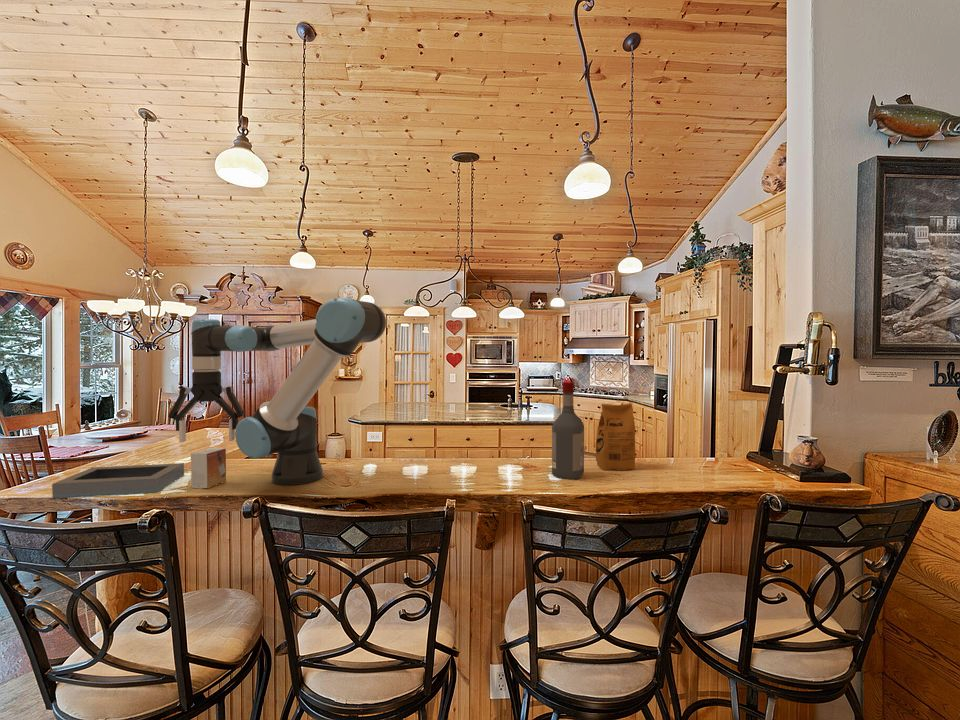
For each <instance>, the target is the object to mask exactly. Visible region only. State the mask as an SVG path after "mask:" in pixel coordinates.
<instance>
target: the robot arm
mask: <svg viewBox="0 0 960 720" xmlns="http://www.w3.org/2000/svg"><path fill="white" fill-rule="evenodd" d="M386 327H387V319H386V315H385V313H384V311H383V310H382V308H380V307H379V306H378V305H377V304H375V303H373V302H369V301H362V300H357V299H354V298H350V297H336V298H335V297H334V298H332V299H329V300H327V301H326V302H324V303H323V304H322V305H321V306H320V307H319V309H318V310H317V313H316V316H315V318H314V319H313V318H312V319H308V320H302V321H295V322H290V323H283V324H277V325H270V326H269V325H268V326H263V327H262V326H261V327H260V326H248V325H239V324H238V325H222V324H221V321H220V320H219V319H214V318H213V319H211V318H197V319H196V318H195V319H194V320H192V322H191V332H190V334H191V356H192V357H191V370H192V371H193V372H192V373H191V377H192V378H191V379H192V381H191V382H192V386H191V387H189V386H182V387H180V388H179V389H180V390H179V395H178V396H177V399H176V401H175V403H174V404H173V406H172V408H171V410H170V412H169V413H168V416H167V417H168V418H169V419H172V420H175V430H176V431H177V432H178V433H179V436H178V439H179V441H178V442H179V443H184V442H187V419H186V418H185V417H186V415H187V414H188V413H189V412H190V411H191V410H192V409H193V408H194V407H195V405H197V403H198V402H200V403H204V402H208V403H210V402H211V403H212V402H215V403H216V404H218V406H220V408H221V409H223V411H225V413H226V414H227V415H228V416H229V417H230V418H229V419H228V442H233V441H234V440H235V442H236V446H237V447H238V449H239V450H240V451H241V453H242V454H243V455H244V456H247V457H248V458H252V459H258V458H265V457H267V456H271V455H274V454H275V453H277V456H276V459H275V462H274V465H273V469H272V472H271V482H272V483H273V484H276V485H282V486H283V485H284V486H285V485H287V486H293V485H302V484H303V485H305V484H308V483H313V482H315V481H318V480H320V479H322V478H323V476H324V473H323V472H324V468H323V465H322V463H321V460H320V457H319V455H318V450H317V448H318V447H317V446H318V444H317V440H318V439H317V434H318V432H317V425H318V423H317V420H318V418H317V409H316V408H315V407H314V406H307V405H308V404H309V402H310V401H311V400H312V398H313V397H314V395H315V394H317V391H319V389H320V387H321V386H322V385H323V384H324V382H325V381H326V380H327V378H328V377H329V375H330V374H331V372H333V370H334V368H335V367H336V366H337V365H338V363H339V362H340V360H341V359H343V358H345V357H346V358H347V357H350V356H351V355H352V354H353V353H354V351H355V350H356V349H357V347H358V346H359V345H360V344H361V343H364V344H365V343H371V342H375V341H377V340H378V339H380V337H382V336H383V334H384V332H385V331H386ZM301 346H302V347H303V346H309V347H308V348H307V349H306V351H305V353H304V354H303V355H302V357H301V358H300V360H299V361H298V362H297V363H296V365H295V366H294V368H293V369H292V370H291V372H290V373H289V375H288V376H287V377H286V378H285V380H284V381H283V383H282V385H281V386H280V387H279V388H278V390H277V391H276V393H275V394H274V395H273V397H272V399H270V401H265V402H262V403H261V404H260V405H259V407H258V408H257V409H256V411H255V412H254V413H253V415H252V416H247V417H244V416H245V411H244V409H243V408H242V406H241V404H240V402H239V401H238V399H237V397H236V395H235V393H234V387H233V386H232V385H231V386H226V387H225V386H224V387H223V386H222V372H221V371H220V370H221V369H222V356H221V355H222V352H236V353H240V352H241V353H245V352H260V351H261V352H262V351H263V352H274V351H279V350H281V349H289V348H295V347H301ZM190 393H192V395H193V397H192V398H191V399H190V400H189V402H188V403H187V404H186V405H185V406H184V407H183V408H182V406H183V404H184V403H185V400H186V398H187V397H188V395H189V394H190ZM222 393H224V394H225V395H226V396H227V398H228V400H229V401H230V402H229V403H230V404H231V405H232V407H233V408H232V407H231V406H230V405H229V404H228V403H227V402H226V401H225V400H224V398H223V396H221V394H222ZM181 408H182V409H181ZM180 409H181V411H180ZM242 417H244V418H242ZM239 418H242V419H241V420H240V421H239Z"/></svg>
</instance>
